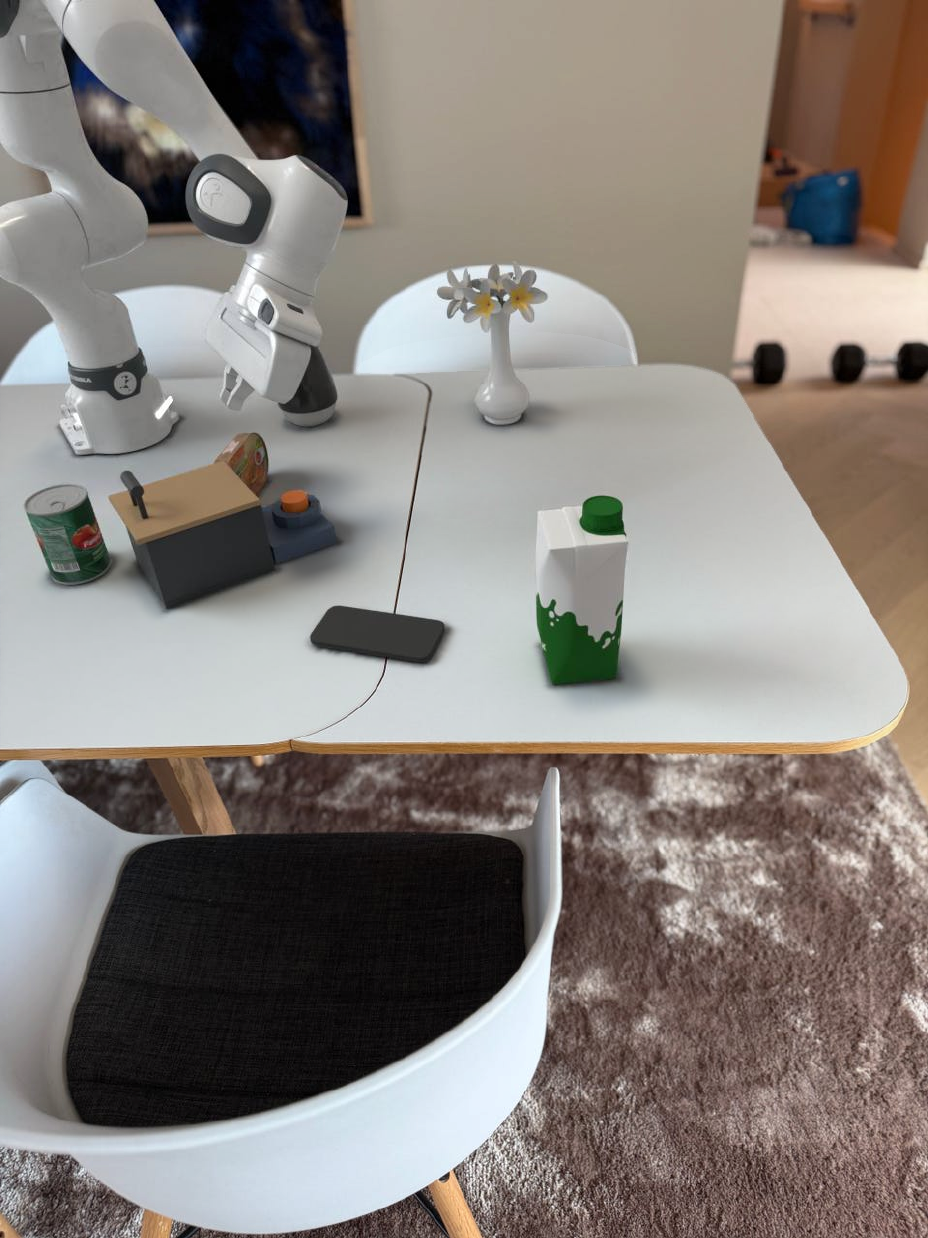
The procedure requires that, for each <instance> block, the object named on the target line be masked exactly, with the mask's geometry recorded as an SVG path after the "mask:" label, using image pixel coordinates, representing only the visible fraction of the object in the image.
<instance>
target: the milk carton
mask: <svg viewBox="0 0 928 1238" xmlns="http://www.w3.org/2000/svg"><path fill="white" fill-rule="evenodd" d="M623 511H624V504H623V503H622V501H621V500H620V499H619V498H617V497H615V496H611V495H604V494H603V495H601V494H600V495H594V496H590V497H588V498H586V499H585V500H584V501H583V503H582V505H577V506H576V505H575V506H572V505H570V506H569V505H568V506H562V507H561V508H556V509H555V508H554V509H546V510H538V511H537V523H536V524H537V527H536V544H535V545H536V546H535V595H536V596H535V597H536V598H535V601H536V602H535V609H536V610H535V611H536V613H535V614H536V615H535V616H536V627H537V632H538V636H539V640H540V642H541V648H542V651H543V656H544V659H545V662H546V663H545V664H546V667H547V671H548V676H549V678H550V682H551V685H552V686H555V685H563V684H564V685H565V684H574V683H575V684H576V683H584V682H592V681H593V682H595V681H604V680H613V679H617V676H618V675H617V673H618V666H619V665H618V664H619V658H620V657H619V655H620V649H621V639H622V626H623V612H624V611H623V609H624V595H625V594H624V592H625V577H626V576H625V575H626V563H627V555H628V547H629V540H628V538H627V533H626V532H625V523H624V520H623V513H624V512H623Z"/></svg>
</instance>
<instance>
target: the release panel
mask: <svg viewBox="0 0 928 1238" xmlns="http://www.w3.org/2000/svg"><path fill="white" fill-rule="evenodd" d="M306 494H307V498H308V503H309V508H307V509H306V510H304V511H302V512H299V513H286V512H284V511H283V508H282V503H281V497H280V498H279V499H277V500H276V501H274V502H273V503H272V504H269V505H266V506H262V507H261V508H262V513H263V517H264V522H265V526H266V531H267V535H268V540H269V544H270V549H271V553H272V558H273V562H274V564H275V565H279V564H281V563H285V562H287V561H290V560H292V559H296V558H299V557H301V556H304V555H306V554H309V553H312V552H314V551H315V552H316V551H317V550H320V549H323V548H326V547H328V546H332V545H334V544H337V537H336V531H335V526H334V525H333V524H332V523H331V522H330V521H329V520H328V519H327V518H326V517H325V516H324V515H323V513H322V507H321V506H322V505H321V501H320V500H319V499H318V498H317V497H316V495H314V494H309V493H306Z"/></svg>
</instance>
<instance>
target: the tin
mask: <svg viewBox="0 0 928 1238" xmlns="http://www.w3.org/2000/svg"><path fill="white" fill-rule="evenodd" d="M221 461H224V462H225V463H226V464H227V465H228V466H229V467H230V468H231V469H232V470H233V472H234V473H235V474H236V475H237V476H238V477H239V478H240V479H241V480H242V481H243V482H244V483H245V484H246V486H247V487H248V488H249V489H250V490H251V491H252V492H253V493H254V494H255V495H256V496H257V495H258V493H259V492H260V490H261V489H262V488H263V486H265V483H266V481H267V479H268V475H269V466H270V465H269V464H270V463H269V453H268V449H267V445H266V443H265V441H264V439H263V437H262V436H261V434H259V433H258V432H255V431H254V432H245V433H238V434H236V435H235V436H234V437H233V438H232V439H231V441H230V442H229V443H228V445H227V446H226V447H225V448H224V449H223V450H222V451H221V453H220V454H219V455H218V456H217V457H216V458H215V460H214V462H213V464H214V463H218V462H221Z"/></svg>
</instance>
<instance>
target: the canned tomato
mask: <svg viewBox="0 0 928 1238" xmlns="http://www.w3.org/2000/svg"><path fill="white" fill-rule="evenodd" d="M88 493H89V492H88V491H87V489H86V487H85V486H83V485H80V484H76V483H62V484H54V485H51V486H47V487H45V488H42V489H40V490H37V491H36V492H34V493H32V494H31V495H30V496H28V497H27V498H26V499H25V500H24V503H23V509H24V512H25V513H26V515H27V518H28V521H29V523H30V526H31V528H32V531H33V533H34V536H35V538H36V541H37V543H38V547H39V549H40V551H41V553H42V556H43V558H44V561H45V563H46V566H47V568H48V571H49V572H50V577H51V579H52V581H54V583H57V584H59V585H64V586H75V585H77V586H78V585H82V584H86V583H89V582H92V581H94V580H96V579H98V578H100V577H102V576H103V575H104V574H106V573H107V572H108V570H109V569H110V567H112V559H111V556H110V553H109V551H108V548H107V545H106V543H105V539H104V537H103V533H102V531H101V528H100V525H99V522H98V520H97V519H98V518H97V517H96V513H95V511H94V507H93V506H92V502H91V500H90V497H89V494H88Z"/></svg>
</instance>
